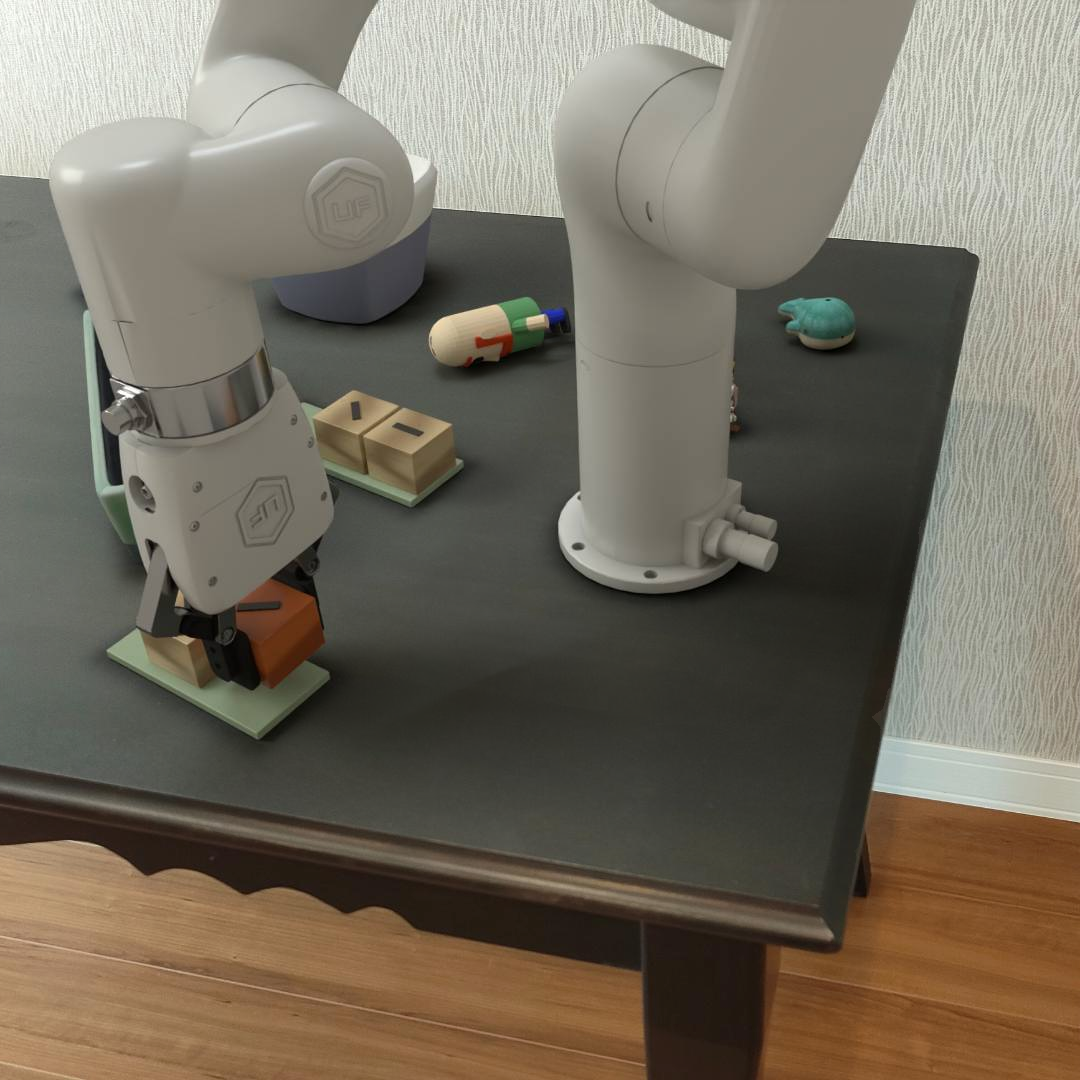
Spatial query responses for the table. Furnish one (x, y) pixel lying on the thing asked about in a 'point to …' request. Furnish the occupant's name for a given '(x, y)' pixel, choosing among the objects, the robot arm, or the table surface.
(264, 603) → the orange cube
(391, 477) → the light wooden block
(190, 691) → the near board
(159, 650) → the tan slotted cube
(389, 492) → the far board
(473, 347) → the toy figurine
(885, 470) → the table surface
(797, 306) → the whale figurine
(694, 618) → the table surface
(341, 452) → the light wooden block
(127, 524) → the planter
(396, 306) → the bowl
